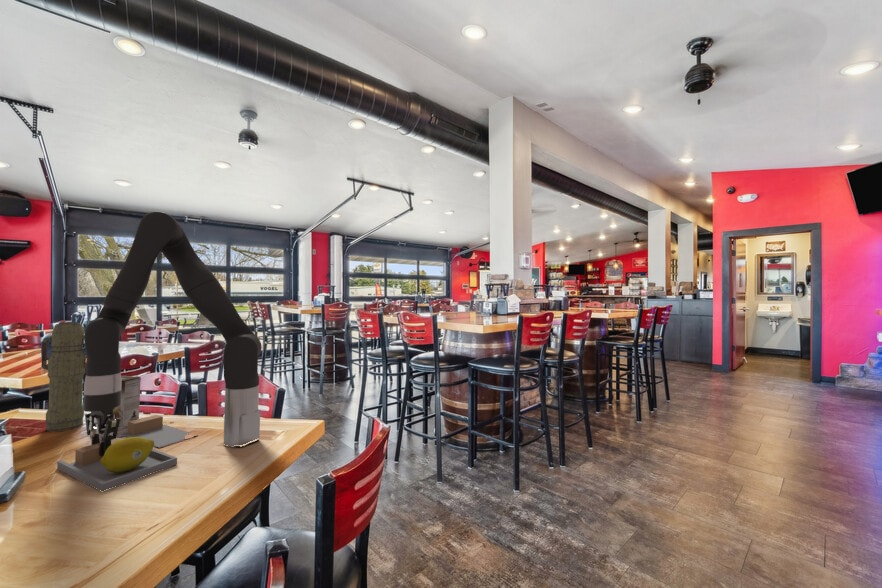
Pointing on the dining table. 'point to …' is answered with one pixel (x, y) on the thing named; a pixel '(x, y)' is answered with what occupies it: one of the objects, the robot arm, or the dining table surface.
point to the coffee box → (128, 400)
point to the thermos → (65, 376)
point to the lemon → (127, 454)
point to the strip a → (155, 431)
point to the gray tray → (102, 479)
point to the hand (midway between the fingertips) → (100, 452)
